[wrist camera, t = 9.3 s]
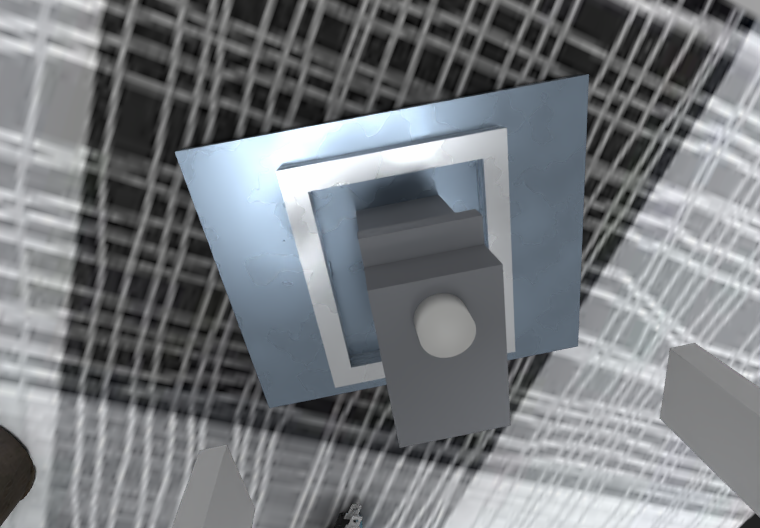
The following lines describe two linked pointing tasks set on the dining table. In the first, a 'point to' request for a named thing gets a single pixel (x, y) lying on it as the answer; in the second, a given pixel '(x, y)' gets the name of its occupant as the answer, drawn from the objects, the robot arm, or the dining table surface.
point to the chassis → (383, 187)
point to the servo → (436, 318)
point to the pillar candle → (13, 473)
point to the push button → (350, 518)
